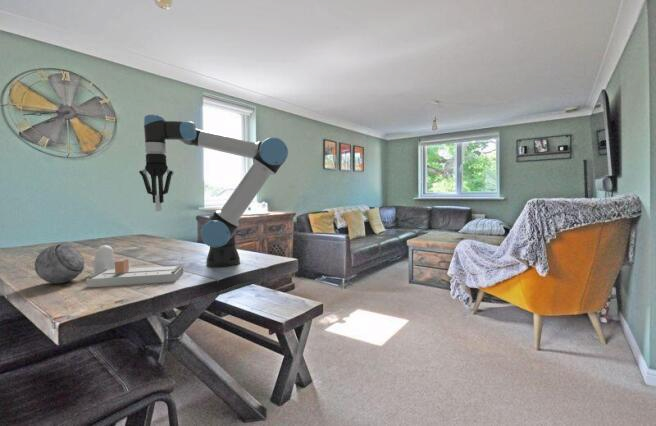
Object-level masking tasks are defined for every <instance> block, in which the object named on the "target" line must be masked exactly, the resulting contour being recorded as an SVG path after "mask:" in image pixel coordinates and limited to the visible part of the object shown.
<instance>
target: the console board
mask: <svg viewBox="0 0 656 426" xmlns="http://www.w3.org/2000/svg"><path fill="white" fill-rule="evenodd" d="M183 274H184V265H182V264H177V265H173V266H157V267H156V266H155V267H140V268H139V267H138V268H137V267H136V268H129V271H127V272H126V273H124V274H115V269H113V270H107V269H103V270H101V271H99V272H97V273H93V274H91V275H90V276H88V277H87V278H86V280H85V281H86V288H97V287H99V288H101V287H113V286H126V285H140V284H141V285H143V284H157V283H173V282H177V281H178V280H179V278H180V277H181V276H182V275H183Z"/></svg>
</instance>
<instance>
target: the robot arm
mask: <svg viewBox="0 0 656 426" xmlns="http://www.w3.org/2000/svg"><path fill="white" fill-rule="evenodd" d="M143 119H144V120H143V122H144V123H143V130H144V140H145V141H144V148H145V166H144V169H142V170H139V171H138V172H139V174H140V175H141V177H142V180H143V183H144V186H145V189H146V193H147V194H149V195H151V196H152V203H153V204H155V212H162V203H164V200H165V199H164V195H166V194H168V193H169V189H170V185H171V181H172V176H173V175H174V173H175V172H174V170H171V169H170V168H169V167H168V163H167V155H166V153H167V148H166V140H167V141H169V140H173V141H174V140H176V141H177V140H178V141H180V142H182V143H184V144H185V145H188V146H196V147H201V148H203V149H209V150H213V151H217V152H222V153H225V154H230V155H235V156H240V157H243V158H244V157H245V158H249V159H252V165H251V167H250V168H249V170H247V172H246V174H245V175H244V177H243V178H242V179H241V181H240V182H239V183H238V185H237V186H236V187H235V189H234V190H233V192H232V193H231V195H230V196H229V198H228V199H227V200H226V202H225V203H224V205H223V206H222V208H221V209H218V210H215V211H214V212H213V214H211V215H209V217H208V221H207V222H205V223H204V224H203V225H202V228H201V230H200V236H201V239H202V242H203V243H204V244H205V245H206V246H208V247H209V250H208V253H207V257H206V261H205V262H206V266H208V267H213V268H222V267H223V268H224V267H230V266H231V267H232V266H237V265H238V264H240V263H241V258H240V254H239V253H238V250H237V246H236V231H237V229H238V228H239V226H240V223H239V220H240V219H241V217H242V216H243V215H244V214H245V211H247V209H248V208H249V206H250V205H251V203H252V202H253V200H254V199H255V198H256V196H257V195H258V193H259V192H260V191H261V189H262V187H264V184H265V183H266V182H267V180H268V179H269V178H270V177H271V176H274V175H276V174H277V173H278V171H279V170H280V168H281V167H282V166H283V164H284V163H285V162H286V160H287V158H288V155H289V149H288V146H287V144H286V143H285V142H284V141H283V140H282V139H281V138H278V137H272V136H271V137H268V138H266V139H265V140H263V141H257V142H254V141H249V140H245V139H241V138H236V137H232V136H230V135H229V136H228V135H223V134H220V133H217V132H216V133H215V132H211V131H208V130H207V131H206V130H202V129H198V128H197V126H196V124H195V122H193V121H188V120H165V117H164V116H162V115H158V114H146V115H145V116H144V118H143ZM147 174H149V175H150V179H151V185H150V181H149V178H148V175H147ZM164 175H166V179H165V183H164ZM157 180H158V181H157ZM157 183H158V184H157ZM157 185H158V189H157Z"/></svg>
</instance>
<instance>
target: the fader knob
mask: <svg viewBox="0 0 656 426" xmlns="http://www.w3.org/2000/svg"><path fill="white" fill-rule="evenodd" d="M129 267H130V263H129V258H119V259H118V260H116V261H115V267H114V270H115V274H124V273H126V272H127V271H129V269H130V268H129Z"/></svg>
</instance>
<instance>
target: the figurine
mask: <svg viewBox="0 0 656 426" xmlns="http://www.w3.org/2000/svg"><path fill="white" fill-rule="evenodd" d="M115 261H117V260H116V258H114V249H113V247H111V246H110V245H106V244H105V245H101V246H99V247H98V248H97V249H96V251H95V254H94V259H93V271H94V272H93V274H95V273H97V272H99V271H101V270H103V269H107V270H115Z"/></svg>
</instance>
